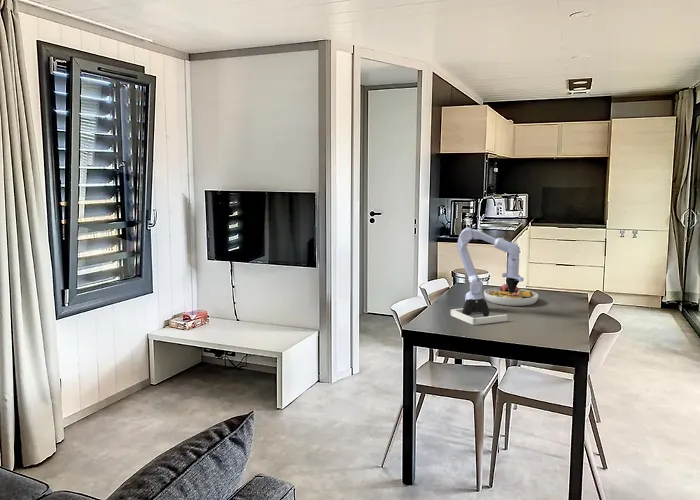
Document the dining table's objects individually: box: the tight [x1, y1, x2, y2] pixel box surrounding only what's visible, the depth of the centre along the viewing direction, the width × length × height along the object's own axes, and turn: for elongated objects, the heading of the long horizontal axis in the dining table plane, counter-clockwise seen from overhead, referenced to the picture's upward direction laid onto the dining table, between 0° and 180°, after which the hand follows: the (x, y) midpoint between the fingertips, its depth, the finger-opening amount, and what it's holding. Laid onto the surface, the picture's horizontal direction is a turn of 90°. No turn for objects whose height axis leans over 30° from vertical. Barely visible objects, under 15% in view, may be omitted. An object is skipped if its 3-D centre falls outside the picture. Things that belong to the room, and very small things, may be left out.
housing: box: [449, 308, 508, 326], centre depth 279 cm, size 20×20×3 cm
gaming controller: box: [462, 298, 490, 317], centre depth 279 cm, size 14×6×10 cm, turn 99°
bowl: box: [483, 283, 539, 307], centre depth 318 cm, size 30×30×8 cm
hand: (512, 292), depth 291 cm, fingers closed
